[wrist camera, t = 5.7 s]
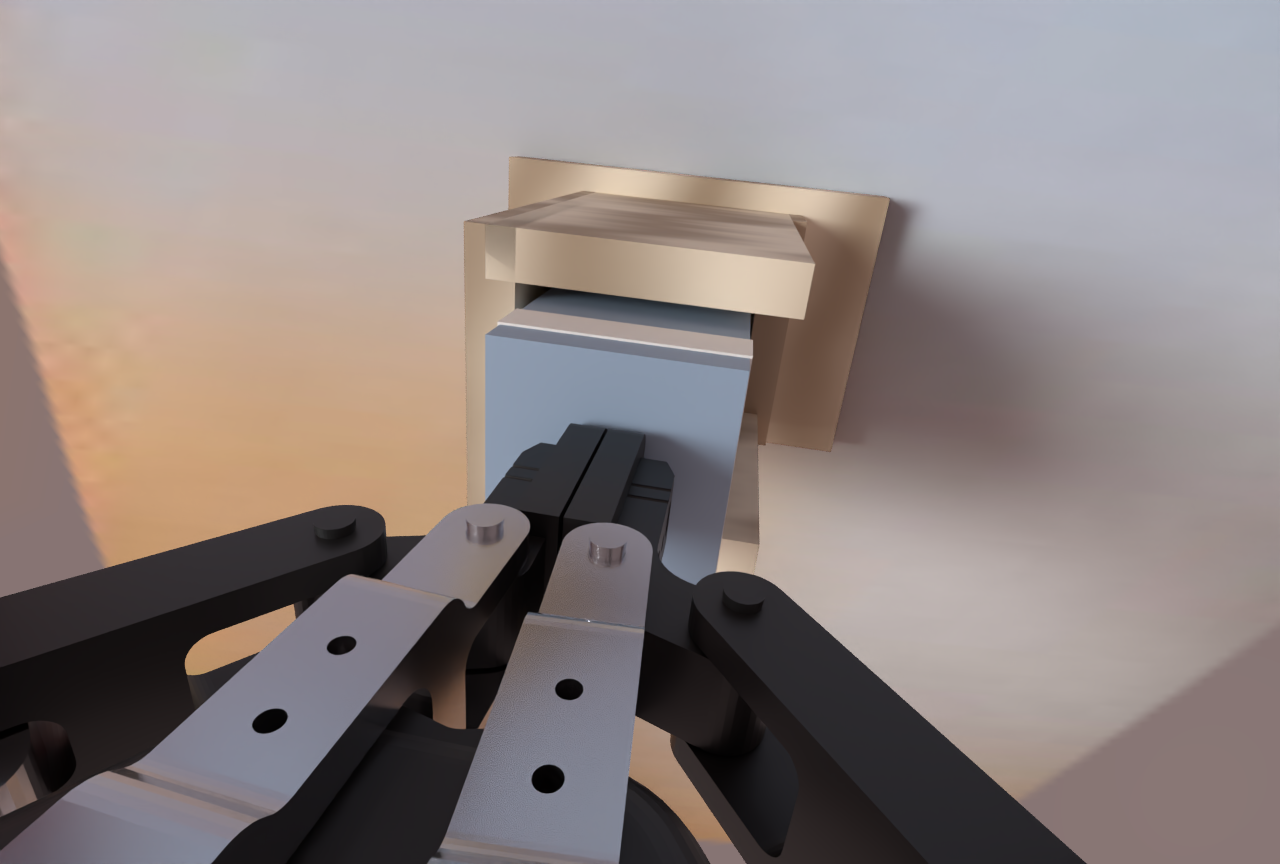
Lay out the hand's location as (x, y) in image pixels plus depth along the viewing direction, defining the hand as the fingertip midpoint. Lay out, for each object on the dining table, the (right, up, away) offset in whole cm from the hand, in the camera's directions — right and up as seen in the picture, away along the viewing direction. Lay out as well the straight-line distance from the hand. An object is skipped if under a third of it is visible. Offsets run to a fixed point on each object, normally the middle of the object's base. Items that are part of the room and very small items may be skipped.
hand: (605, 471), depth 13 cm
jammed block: (+2, +5, +13) cm, 14 cm away
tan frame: (+2, +6, +14) cm, 16 cm away
